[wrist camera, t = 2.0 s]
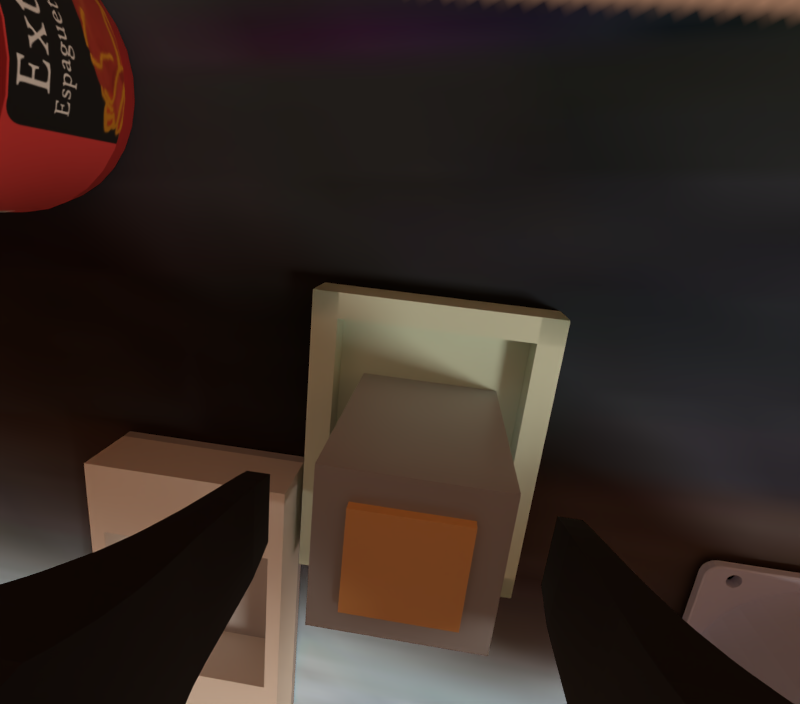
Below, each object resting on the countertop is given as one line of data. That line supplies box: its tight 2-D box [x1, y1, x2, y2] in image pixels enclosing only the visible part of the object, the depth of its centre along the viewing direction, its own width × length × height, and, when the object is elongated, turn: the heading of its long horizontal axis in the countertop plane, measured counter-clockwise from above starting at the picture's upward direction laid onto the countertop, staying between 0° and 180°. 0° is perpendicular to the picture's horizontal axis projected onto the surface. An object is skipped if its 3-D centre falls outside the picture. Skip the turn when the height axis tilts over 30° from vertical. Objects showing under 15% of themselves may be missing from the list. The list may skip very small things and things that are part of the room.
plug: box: [305, 373, 521, 656], centre depth 14 cm, size 4×4×6 cm
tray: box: [299, 282, 570, 598], centre depth 16 cm, size 8×10×1 cm
